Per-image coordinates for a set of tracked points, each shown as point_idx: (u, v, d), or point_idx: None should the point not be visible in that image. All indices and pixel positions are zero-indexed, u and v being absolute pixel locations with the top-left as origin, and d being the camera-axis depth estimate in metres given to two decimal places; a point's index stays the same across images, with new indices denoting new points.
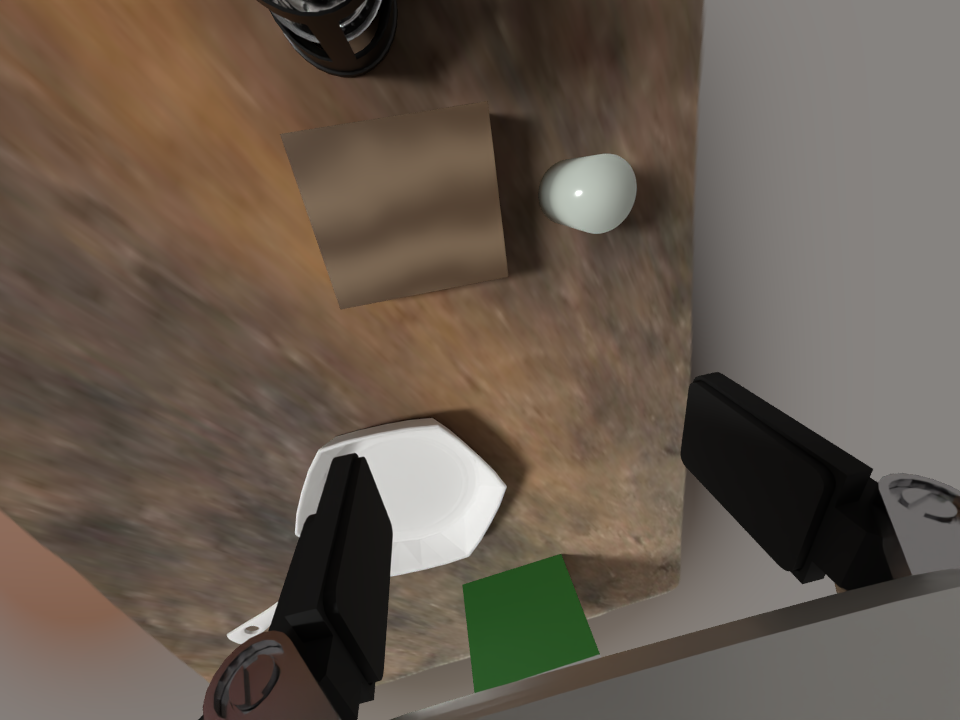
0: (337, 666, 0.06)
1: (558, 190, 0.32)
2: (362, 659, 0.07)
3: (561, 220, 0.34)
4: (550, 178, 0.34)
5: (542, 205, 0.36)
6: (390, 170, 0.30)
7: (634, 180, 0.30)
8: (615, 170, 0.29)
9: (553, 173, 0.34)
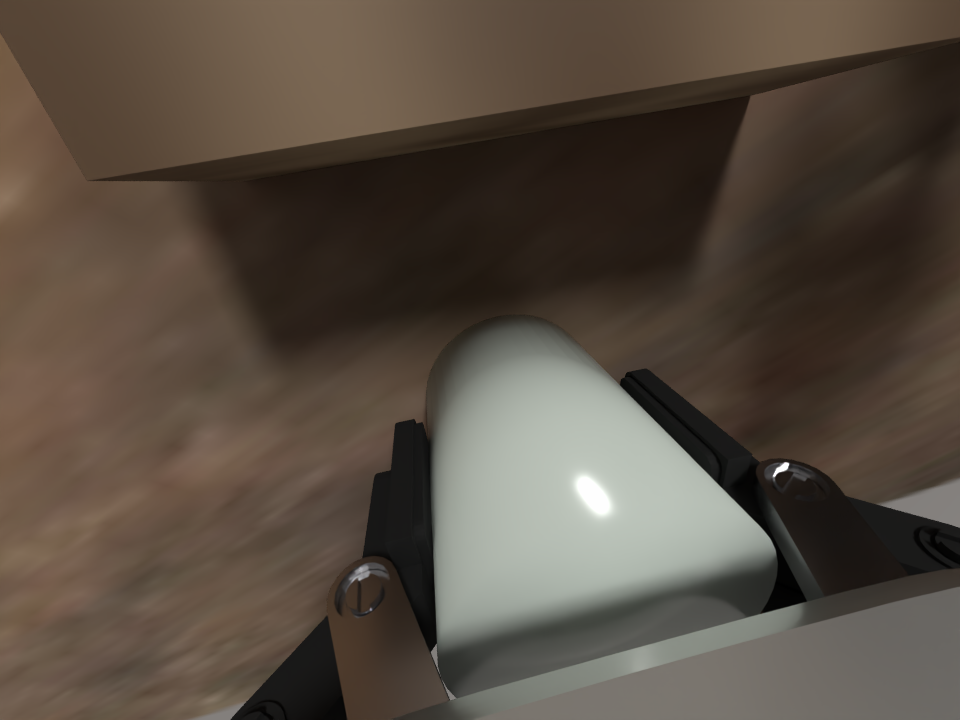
0: (426, 589, 0.07)
1: (597, 411, 0.07)
2: None
3: (460, 429, 0.08)
4: (576, 350, 0.10)
5: (484, 335, 0.11)
6: None
7: None
8: None
9: (591, 359, 0.10)
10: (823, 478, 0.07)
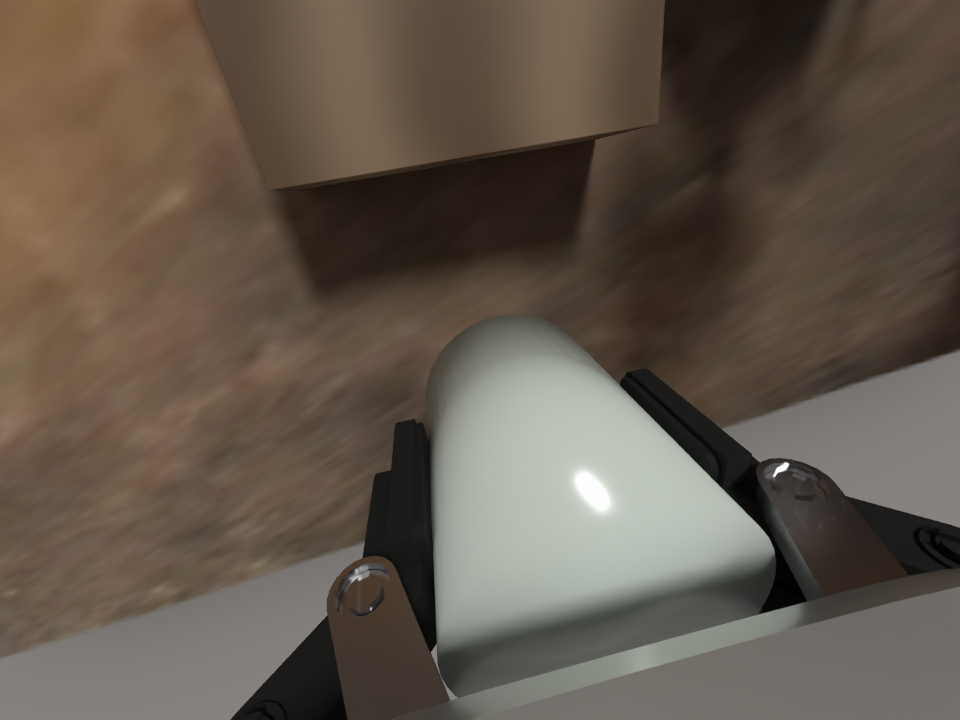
0: (426, 589, 0.07)
1: (596, 411, 0.07)
2: None
3: (460, 428, 0.08)
4: (575, 350, 0.10)
5: (483, 334, 0.11)
6: None
7: None
8: None
9: (590, 359, 0.10)
10: (822, 478, 0.07)
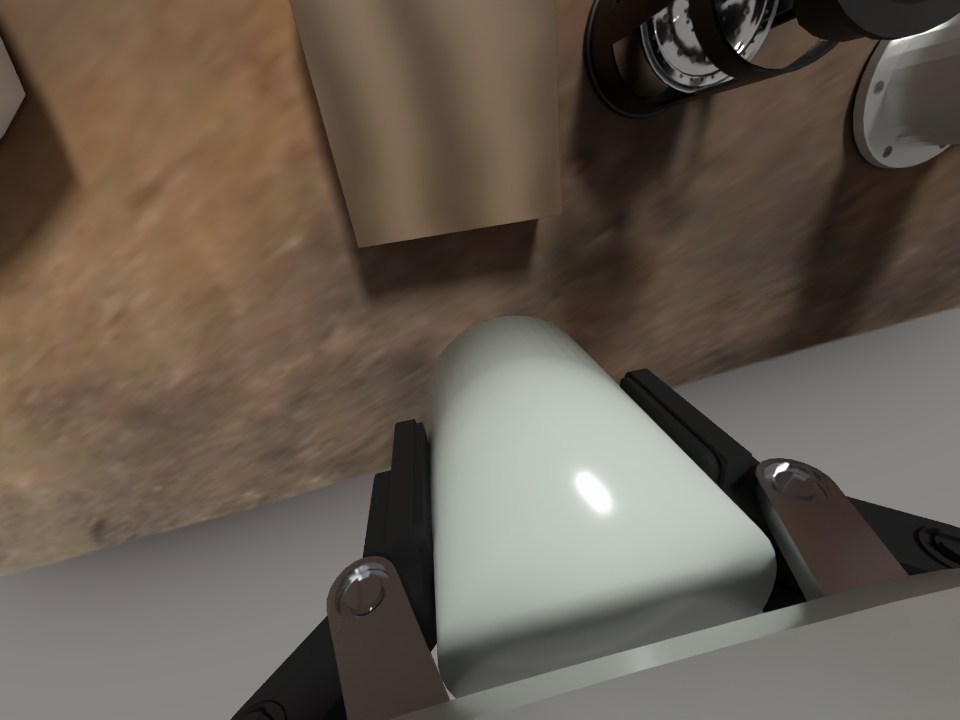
0: (426, 589, 0.07)
1: (597, 413, 0.07)
2: None
3: (460, 430, 0.08)
4: (575, 351, 0.10)
5: (484, 336, 0.11)
6: (497, 66, 0.21)
7: None
8: None
9: (591, 360, 0.10)
10: (822, 478, 0.07)
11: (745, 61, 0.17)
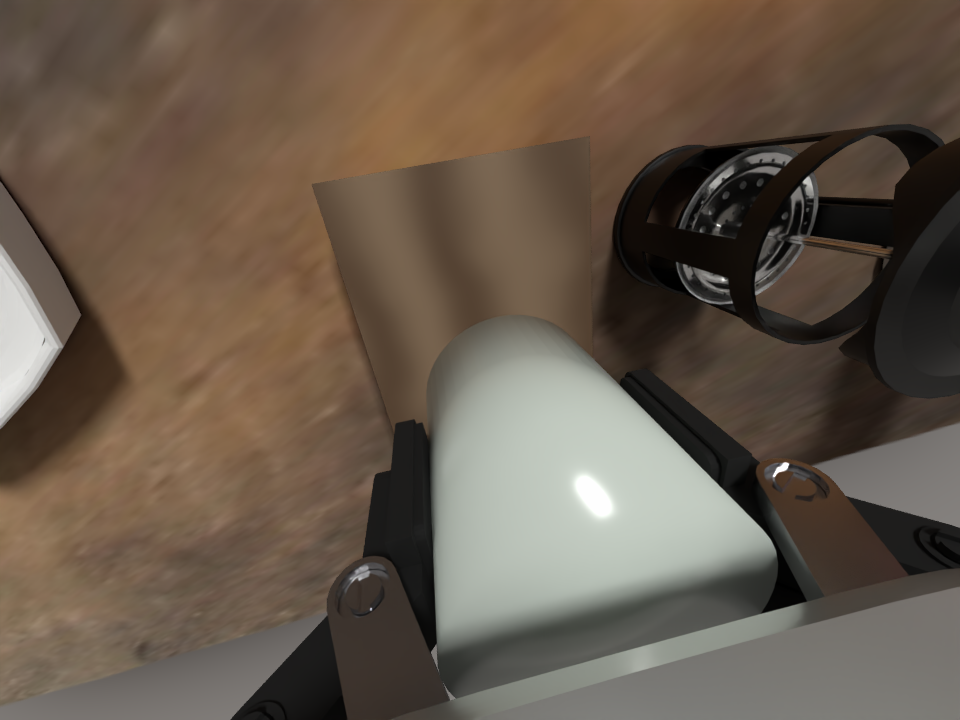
0: (426, 589, 0.07)
1: (597, 412, 0.07)
2: None
3: (460, 429, 0.08)
4: (575, 350, 0.10)
5: (483, 335, 0.11)
6: (533, 290, 0.22)
7: None
8: None
9: (591, 359, 0.10)
10: (823, 478, 0.07)
11: (785, 339, 0.17)
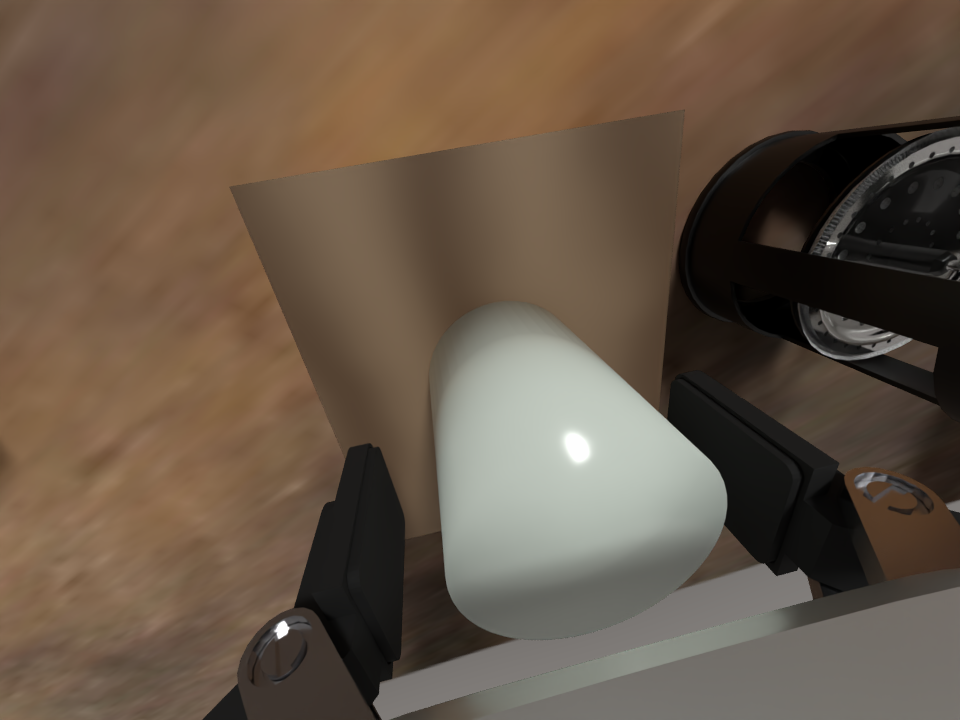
0: (360, 642, 0.06)
1: (580, 373, 0.08)
2: (382, 638, 0.07)
3: (463, 392, 0.09)
4: (564, 330, 0.11)
5: (482, 317, 0.12)
6: None
7: (618, 620, 0.09)
8: (661, 566, 0.08)
9: (578, 338, 0.12)
10: (929, 494, 0.06)
11: None
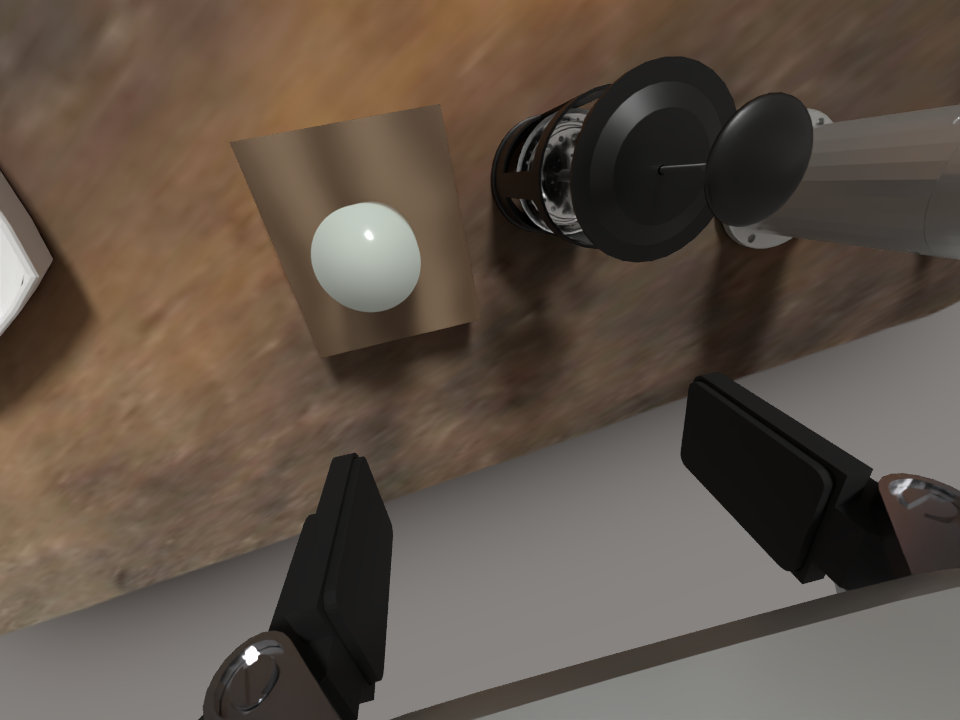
0: (337, 666, 0.06)
1: (369, 203, 0.22)
2: (362, 659, 0.07)
3: None
4: (388, 206, 0.25)
5: None
6: (416, 226, 0.28)
7: (392, 305, 0.22)
8: (401, 274, 0.21)
9: (395, 210, 0.25)
10: None
11: (579, 243, 0.24)
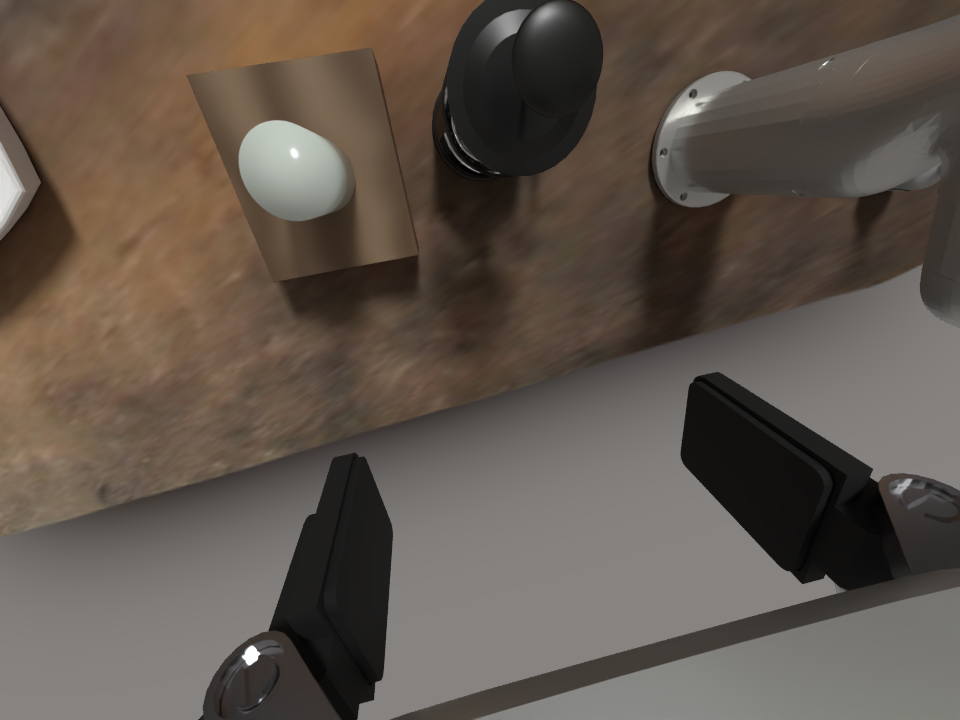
0: (337, 666, 0.06)
1: None
2: (362, 659, 0.07)
3: None
4: (323, 137, 0.28)
5: None
6: (355, 162, 0.32)
7: (311, 216, 0.26)
8: (318, 188, 0.25)
9: (329, 141, 0.28)
10: None
11: (485, 171, 0.27)
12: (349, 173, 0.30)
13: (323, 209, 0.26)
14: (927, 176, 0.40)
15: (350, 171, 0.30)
